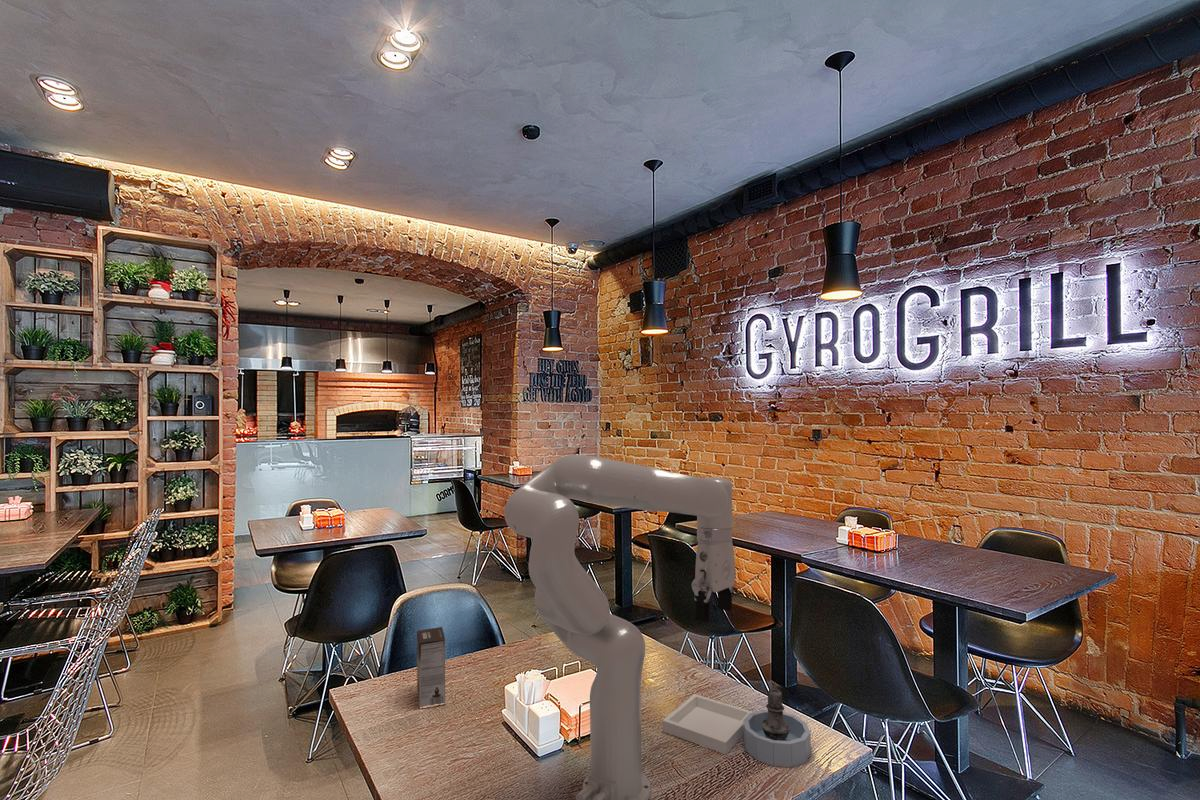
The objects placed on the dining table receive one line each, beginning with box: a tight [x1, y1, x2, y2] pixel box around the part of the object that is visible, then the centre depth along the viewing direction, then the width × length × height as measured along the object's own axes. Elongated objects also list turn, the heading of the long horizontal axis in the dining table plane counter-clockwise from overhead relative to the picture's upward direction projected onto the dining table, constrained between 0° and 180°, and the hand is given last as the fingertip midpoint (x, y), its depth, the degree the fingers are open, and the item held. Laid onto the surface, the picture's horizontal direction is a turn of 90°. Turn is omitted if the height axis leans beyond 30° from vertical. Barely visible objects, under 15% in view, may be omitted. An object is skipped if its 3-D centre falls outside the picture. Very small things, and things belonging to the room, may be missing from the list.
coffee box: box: [416, 626, 446, 707], centre depth 143 cm, size 9×6×16 cm
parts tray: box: [662, 693, 754, 756], centre depth 128 cm, size 15×15×2 cm
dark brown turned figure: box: [761, 684, 790, 741], centre depth 120 cm, size 6×6×12 cm
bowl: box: [743, 709, 812, 768], centre depth 120 cm, size 13×13×4 cm
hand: (714, 614), depth 124 cm, fingers open, 9 cm apart
